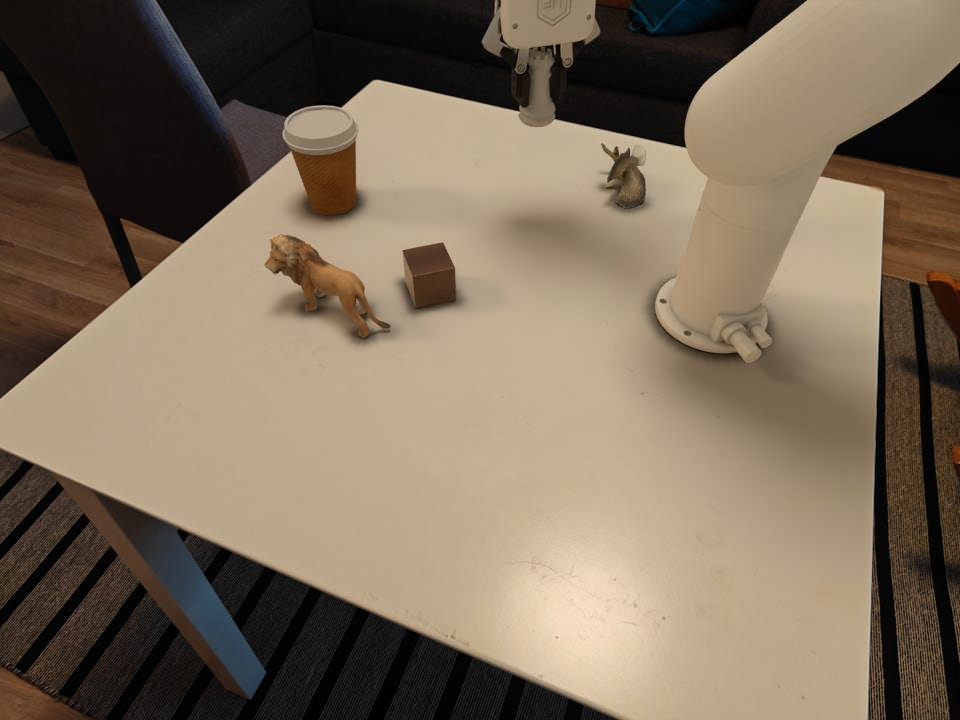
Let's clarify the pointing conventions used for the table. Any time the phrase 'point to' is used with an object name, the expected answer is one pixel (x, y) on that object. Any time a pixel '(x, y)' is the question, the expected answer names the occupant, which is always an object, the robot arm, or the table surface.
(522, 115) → the rook chess piece
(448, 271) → the walnut block
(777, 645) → the table surface
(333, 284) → the lion figurine
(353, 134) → the disposable coffee cup
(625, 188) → the horned animal figurine
